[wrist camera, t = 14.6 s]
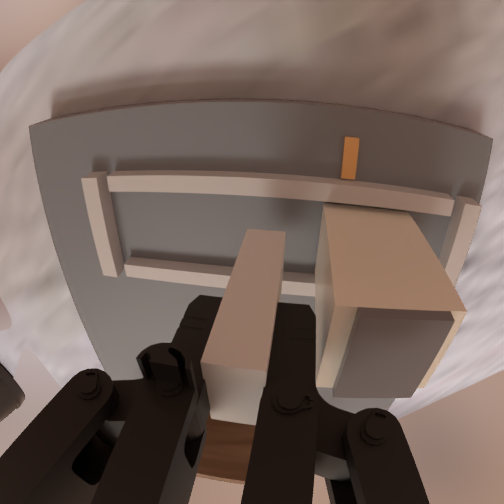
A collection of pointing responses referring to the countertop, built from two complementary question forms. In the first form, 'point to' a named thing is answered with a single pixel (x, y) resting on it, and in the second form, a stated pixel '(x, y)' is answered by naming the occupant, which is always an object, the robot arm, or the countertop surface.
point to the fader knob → (379, 304)
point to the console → (233, 202)
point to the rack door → (226, 451)
